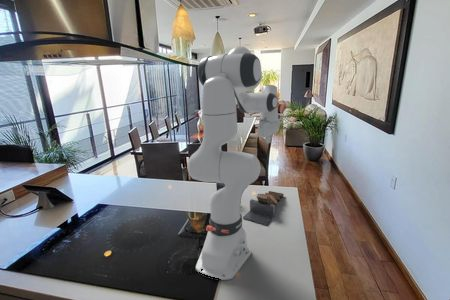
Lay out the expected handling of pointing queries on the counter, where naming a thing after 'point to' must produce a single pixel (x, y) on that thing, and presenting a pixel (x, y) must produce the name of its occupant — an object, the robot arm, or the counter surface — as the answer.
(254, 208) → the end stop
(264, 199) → the tile
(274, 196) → the tile
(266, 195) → the tile
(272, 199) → the tile
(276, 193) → the end tile
